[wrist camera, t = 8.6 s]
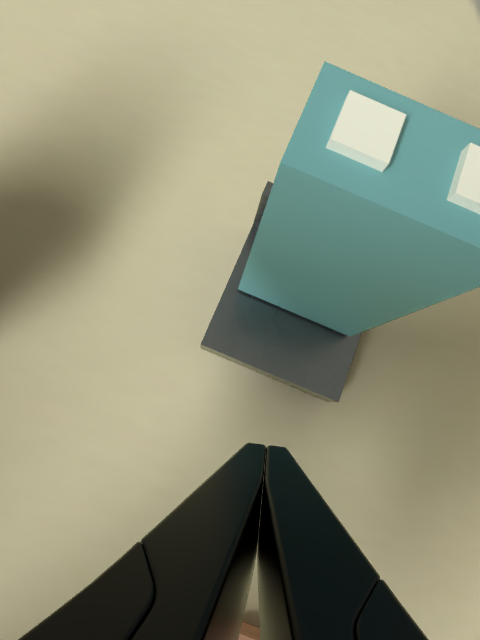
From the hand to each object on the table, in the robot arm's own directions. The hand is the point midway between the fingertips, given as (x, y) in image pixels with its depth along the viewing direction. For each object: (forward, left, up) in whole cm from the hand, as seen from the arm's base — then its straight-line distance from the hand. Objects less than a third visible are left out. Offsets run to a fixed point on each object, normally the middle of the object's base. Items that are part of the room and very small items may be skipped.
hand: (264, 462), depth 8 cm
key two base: (+6, -2, -11) cm, 13 cm away
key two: (+7, -2, -9) cm, 12 cm away
